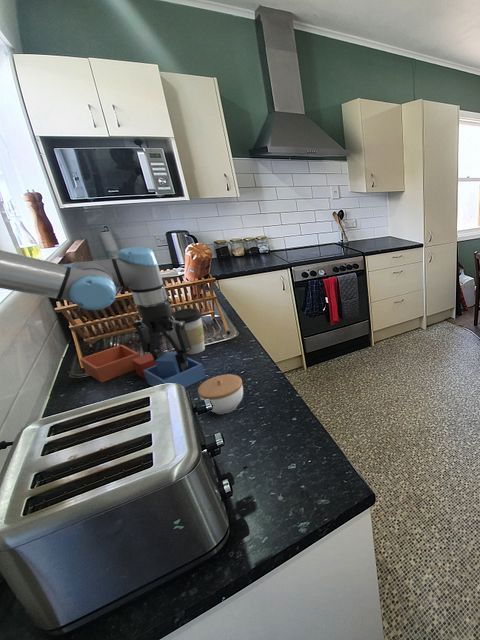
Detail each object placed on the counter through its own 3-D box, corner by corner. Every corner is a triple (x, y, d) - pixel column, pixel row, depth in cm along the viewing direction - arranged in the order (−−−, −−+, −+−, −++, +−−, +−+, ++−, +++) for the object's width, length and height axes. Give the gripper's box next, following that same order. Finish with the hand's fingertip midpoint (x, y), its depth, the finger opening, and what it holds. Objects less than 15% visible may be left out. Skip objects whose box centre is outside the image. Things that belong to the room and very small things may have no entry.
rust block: (145, 379, 110) (140, 364, 108) (136, 374, 113) (131, 359, 110) (164, 371, 115) (159, 357, 112) (155, 366, 117) (150, 352, 115)
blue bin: (167, 395, 103) (162, 381, 101) (147, 384, 108) (142, 370, 106) (206, 377, 112) (202, 364, 110) (186, 367, 117) (182, 354, 115)
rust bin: (101, 382, 108) (95, 369, 106) (85, 372, 113) (79, 358, 111) (143, 366, 117) (138, 353, 115) (126, 357, 122) (121, 344, 120)
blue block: (159, 376, 106) (154, 360, 104) (171, 366, 111) (166, 351, 109) (178, 376, 106) (173, 361, 104) (189, 366, 111) (184, 352, 109)
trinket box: (248, 393, 105) (242, 366, 102) (244, 415, 96) (238, 387, 92) (208, 399, 102) (200, 372, 98) (200, 423, 93) (191, 394, 89)
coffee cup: (216, 344, 132) (207, 308, 126) (198, 357, 123) (187, 319, 117) (192, 342, 133) (182, 306, 126) (172, 355, 124) (160, 317, 117)
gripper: (193, 298, 102) (210, 365, 112) (129, 296, 102) (153, 364, 112) (176, 308, 96) (197, 378, 105) (108, 306, 95) (135, 377, 105)
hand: (174, 370), depth 108 cm, fingers closed on blue block, 5 cm apart
